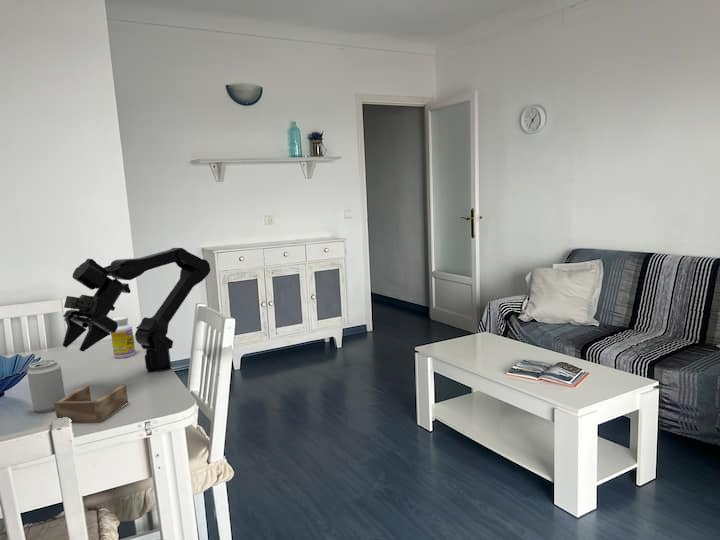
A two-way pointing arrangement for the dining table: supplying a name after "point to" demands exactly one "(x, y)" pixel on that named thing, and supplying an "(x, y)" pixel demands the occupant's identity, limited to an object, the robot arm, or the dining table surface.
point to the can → (45, 384)
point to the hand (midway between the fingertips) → (72, 348)
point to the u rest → (90, 405)
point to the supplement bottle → (123, 339)
